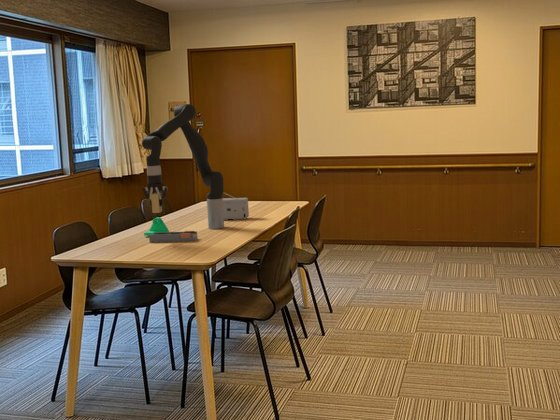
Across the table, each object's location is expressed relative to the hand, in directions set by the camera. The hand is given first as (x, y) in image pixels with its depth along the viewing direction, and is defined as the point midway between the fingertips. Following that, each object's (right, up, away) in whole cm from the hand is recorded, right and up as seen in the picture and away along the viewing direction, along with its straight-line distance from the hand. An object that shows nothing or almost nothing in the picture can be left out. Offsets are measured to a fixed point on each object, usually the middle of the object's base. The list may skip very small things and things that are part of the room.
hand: (156, 206), depth 358 cm
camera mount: (-4, -17, +18) cm, 25 cm away
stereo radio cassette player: (+35, -8, +67) cm, 76 cm away
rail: (+9, -18, +1) cm, 20 cm away
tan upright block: (0, -3, 0) cm, 3 cm away
